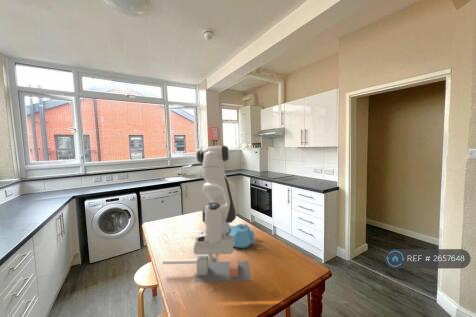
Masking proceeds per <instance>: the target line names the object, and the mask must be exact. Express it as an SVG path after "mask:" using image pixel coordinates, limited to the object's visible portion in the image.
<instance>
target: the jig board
mask: <svg viewBox="0 0 476 317" xmlns="http://www.w3.org/2000/svg"><path fill="white" fill-rule="evenodd" d="M208 255H209V254H197V258H196V259H197V264H196V274H195V277H194V281H193V282H194V283H211V282H212V283H215V282H218V283H219V282H222V283H223V282H248V281H249V282H250V281H251V272H250V267H249V266H250V265H249V261H248V260H246V261H245V260H241V261H240V260H239V261H238V277H230V261H217V262H211V263H210V264H208V263H207V259H208Z"/></svg>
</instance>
